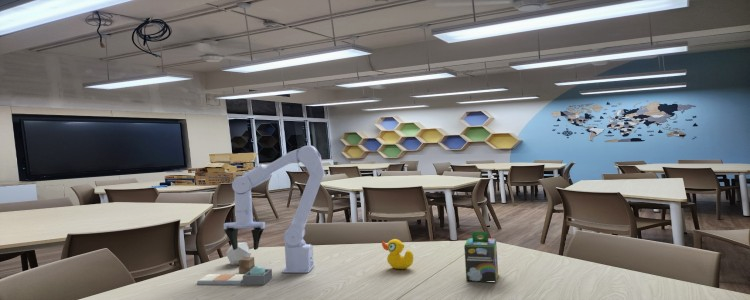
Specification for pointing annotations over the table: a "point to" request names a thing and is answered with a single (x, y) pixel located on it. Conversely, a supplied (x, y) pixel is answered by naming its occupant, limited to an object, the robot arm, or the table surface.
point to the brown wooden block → (246, 264)
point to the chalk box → (481, 258)
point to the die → (238, 253)
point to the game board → (221, 279)
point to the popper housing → (257, 278)
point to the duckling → (394, 256)
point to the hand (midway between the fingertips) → (245, 249)
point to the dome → (257, 270)
